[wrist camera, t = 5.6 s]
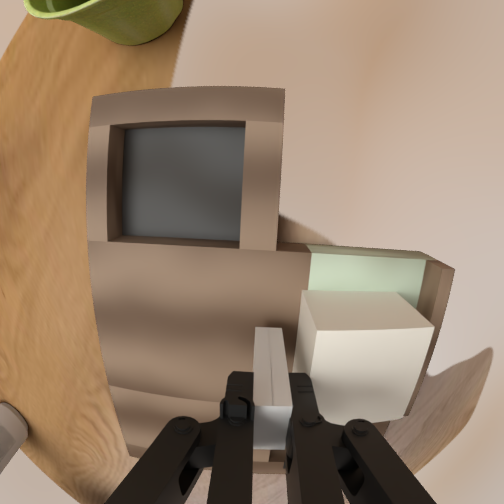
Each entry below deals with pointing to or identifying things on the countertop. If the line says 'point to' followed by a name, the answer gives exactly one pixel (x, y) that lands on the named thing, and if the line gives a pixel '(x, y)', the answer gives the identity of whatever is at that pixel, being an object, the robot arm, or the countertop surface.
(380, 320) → the block
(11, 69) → the countertop surface
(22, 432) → the energy drink can
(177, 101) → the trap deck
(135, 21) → the plant pot
